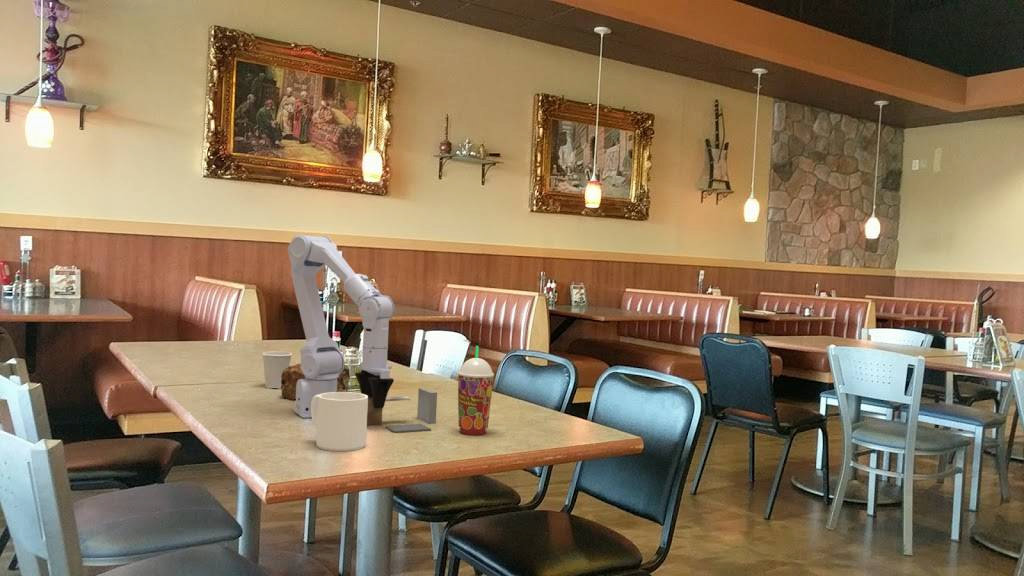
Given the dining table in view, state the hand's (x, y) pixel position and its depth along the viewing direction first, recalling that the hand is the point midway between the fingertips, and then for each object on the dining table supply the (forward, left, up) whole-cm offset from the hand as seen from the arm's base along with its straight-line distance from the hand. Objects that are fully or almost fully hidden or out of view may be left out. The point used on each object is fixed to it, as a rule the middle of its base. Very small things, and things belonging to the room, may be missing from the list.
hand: (372, 405), depth 182 cm
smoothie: (+19, -15, -5) cm, 25 cm away
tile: (+14, 0, -5) cm, 15 cm away
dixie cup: (-9, +55, -5) cm, 56 cm away
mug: (-14, -17, -5) cm, 23 cm away
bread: (-2, +39, -5) cm, 39 cm away
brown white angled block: (+4, 0, -4) cm, 6 cm away
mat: (+6, -7, -4) cm, 10 cm away
